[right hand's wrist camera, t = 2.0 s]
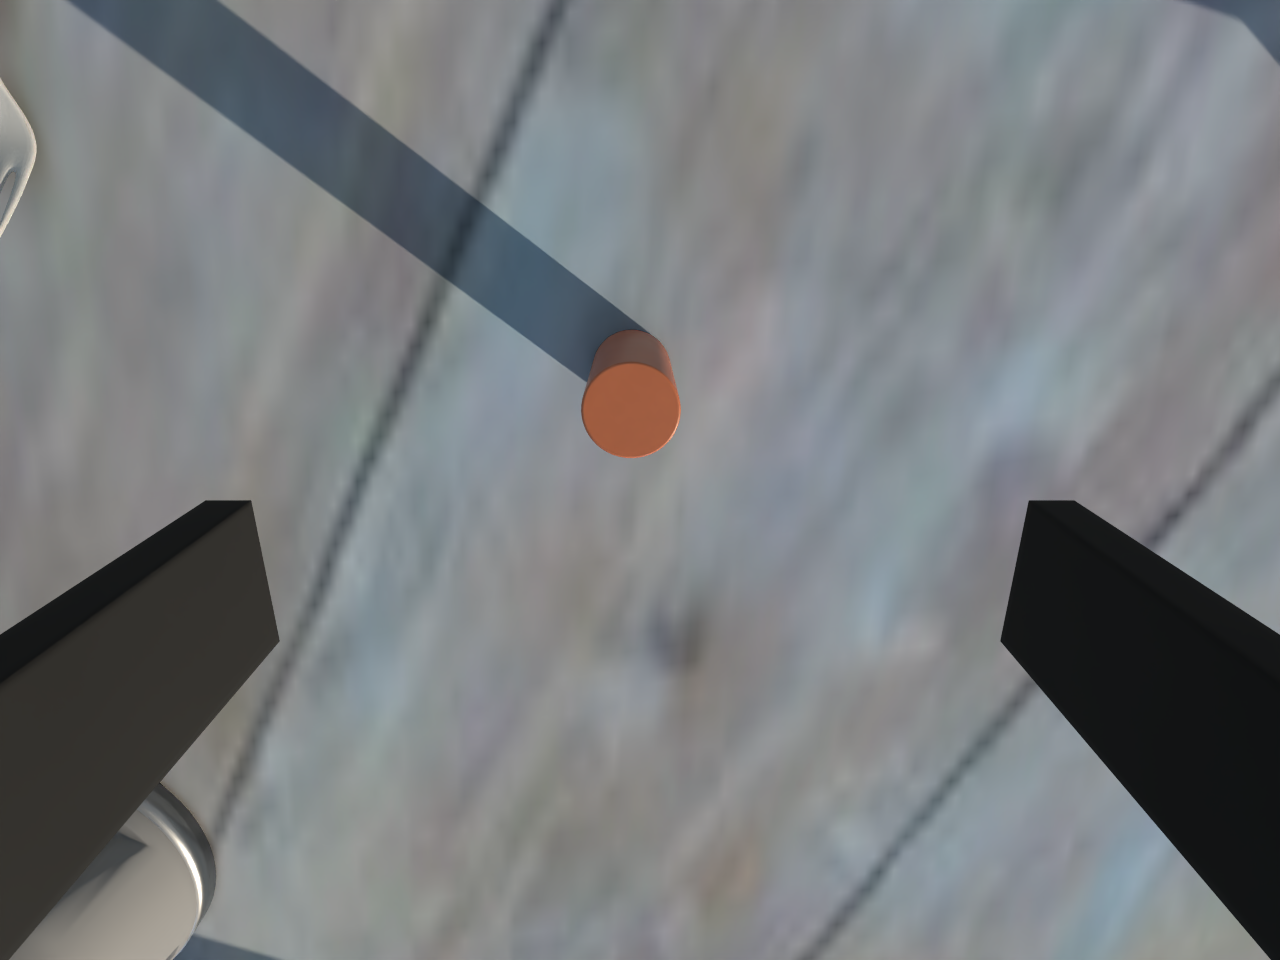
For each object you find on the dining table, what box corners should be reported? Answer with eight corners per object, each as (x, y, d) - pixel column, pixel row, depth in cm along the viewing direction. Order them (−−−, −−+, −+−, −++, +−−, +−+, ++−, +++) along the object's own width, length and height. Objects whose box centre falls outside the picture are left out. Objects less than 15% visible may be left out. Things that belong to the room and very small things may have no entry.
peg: (593, 406, 30) (582, 458, 23) (591, 329, 29) (579, 361, 22) (669, 406, 30) (679, 458, 23) (670, 329, 29) (681, 361, 22)
